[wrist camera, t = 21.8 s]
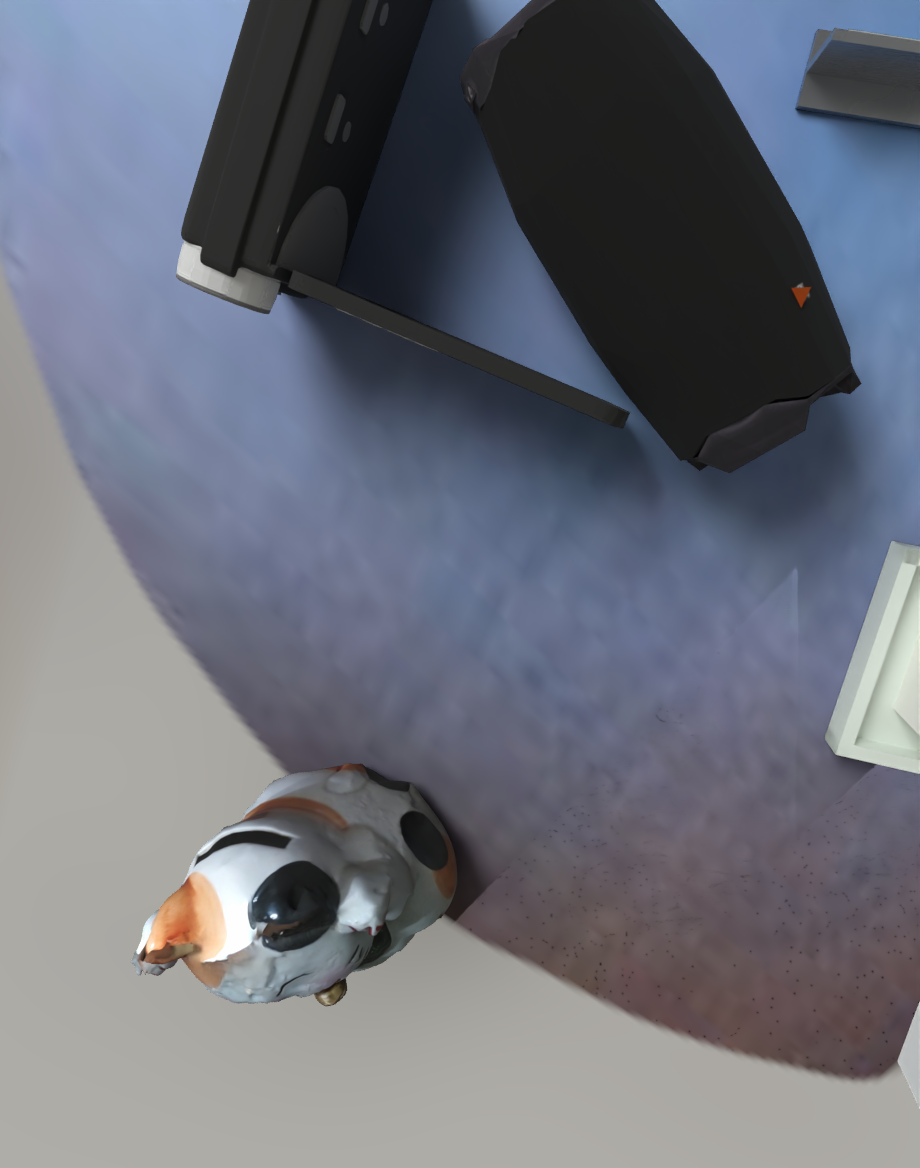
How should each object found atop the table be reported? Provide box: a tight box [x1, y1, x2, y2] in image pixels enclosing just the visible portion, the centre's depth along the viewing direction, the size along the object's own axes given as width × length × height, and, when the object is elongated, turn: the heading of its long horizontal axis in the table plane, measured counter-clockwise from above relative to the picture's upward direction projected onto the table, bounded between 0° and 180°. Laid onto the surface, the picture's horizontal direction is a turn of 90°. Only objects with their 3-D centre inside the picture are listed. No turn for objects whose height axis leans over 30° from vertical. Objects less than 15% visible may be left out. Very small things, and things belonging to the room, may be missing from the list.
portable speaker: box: [460, 0, 861, 473], centre depth 34 cm, size 9×9×20 cm
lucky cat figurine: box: [131, 764, 457, 1006], centre depth 42 cm, size 15×12×14 cm
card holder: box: [795, 28, 920, 129], centre depth 33 cm, size 3×6×4 cm, turn 79°
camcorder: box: [176, 0, 630, 428], centre depth 34 cm, size 20×18×10 cm
